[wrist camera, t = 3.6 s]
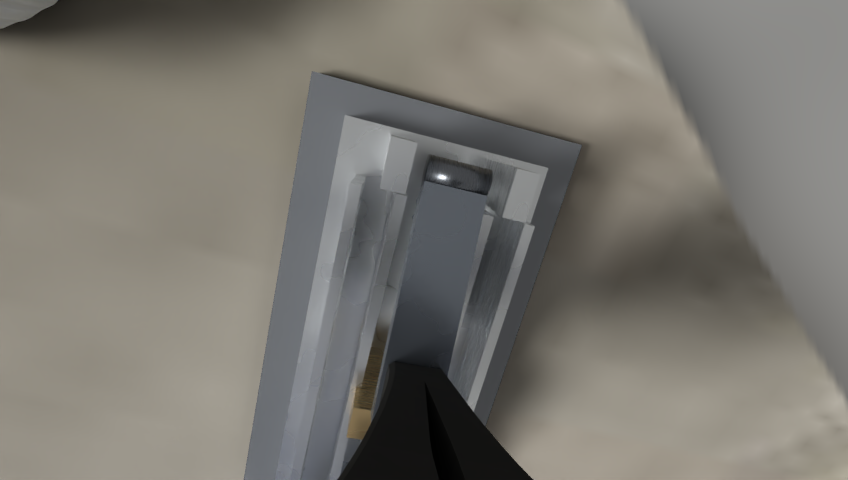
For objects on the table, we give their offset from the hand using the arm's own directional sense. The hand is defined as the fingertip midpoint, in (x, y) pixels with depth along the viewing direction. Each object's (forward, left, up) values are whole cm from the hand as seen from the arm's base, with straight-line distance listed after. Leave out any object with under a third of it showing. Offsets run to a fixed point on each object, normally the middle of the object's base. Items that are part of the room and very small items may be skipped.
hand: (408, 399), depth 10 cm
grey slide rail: (-2, 0, -5) cm, 5 cm away
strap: (+2, 0, -1) cm, 3 cm away
